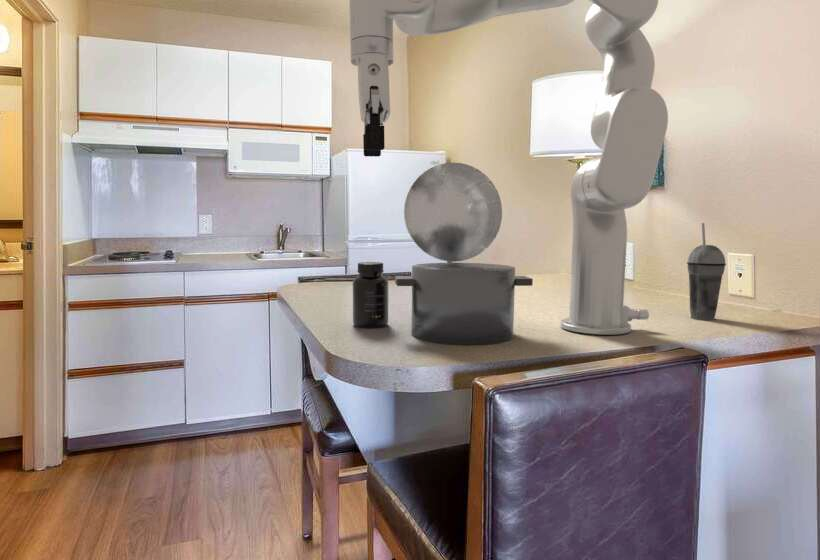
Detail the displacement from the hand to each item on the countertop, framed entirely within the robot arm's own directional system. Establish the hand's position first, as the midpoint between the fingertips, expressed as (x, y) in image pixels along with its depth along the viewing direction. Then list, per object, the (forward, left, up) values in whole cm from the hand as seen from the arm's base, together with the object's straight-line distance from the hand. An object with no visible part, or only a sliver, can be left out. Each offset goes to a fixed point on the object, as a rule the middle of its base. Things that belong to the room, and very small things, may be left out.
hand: (373, 153), depth 99 cm
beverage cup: (-70, -8, -32) cm, 77 cm away
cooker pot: (-16, +5, -32) cm, 36 cm away
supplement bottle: (0, -4, -32) cm, 32 cm away
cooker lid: (-16, -5, -10) cm, 19 cm away
